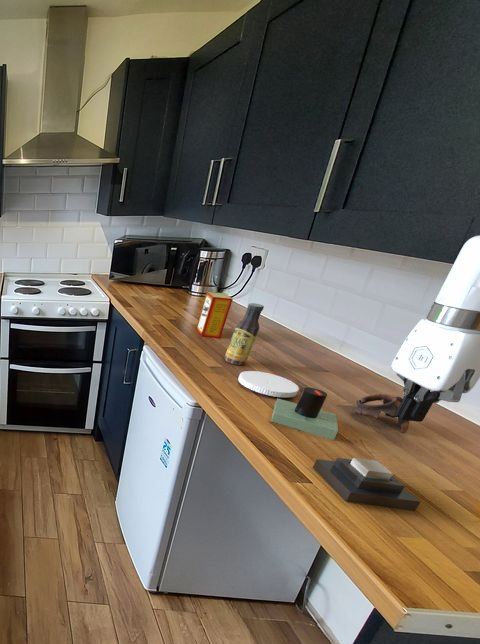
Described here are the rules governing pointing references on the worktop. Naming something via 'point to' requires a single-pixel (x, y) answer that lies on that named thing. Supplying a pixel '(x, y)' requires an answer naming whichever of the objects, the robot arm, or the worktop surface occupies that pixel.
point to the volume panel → (305, 420)
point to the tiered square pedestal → (364, 486)
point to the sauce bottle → (244, 336)
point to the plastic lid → (268, 384)
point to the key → (371, 469)
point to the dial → (310, 402)
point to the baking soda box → (214, 314)
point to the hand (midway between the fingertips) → (408, 418)
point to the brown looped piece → (382, 408)
